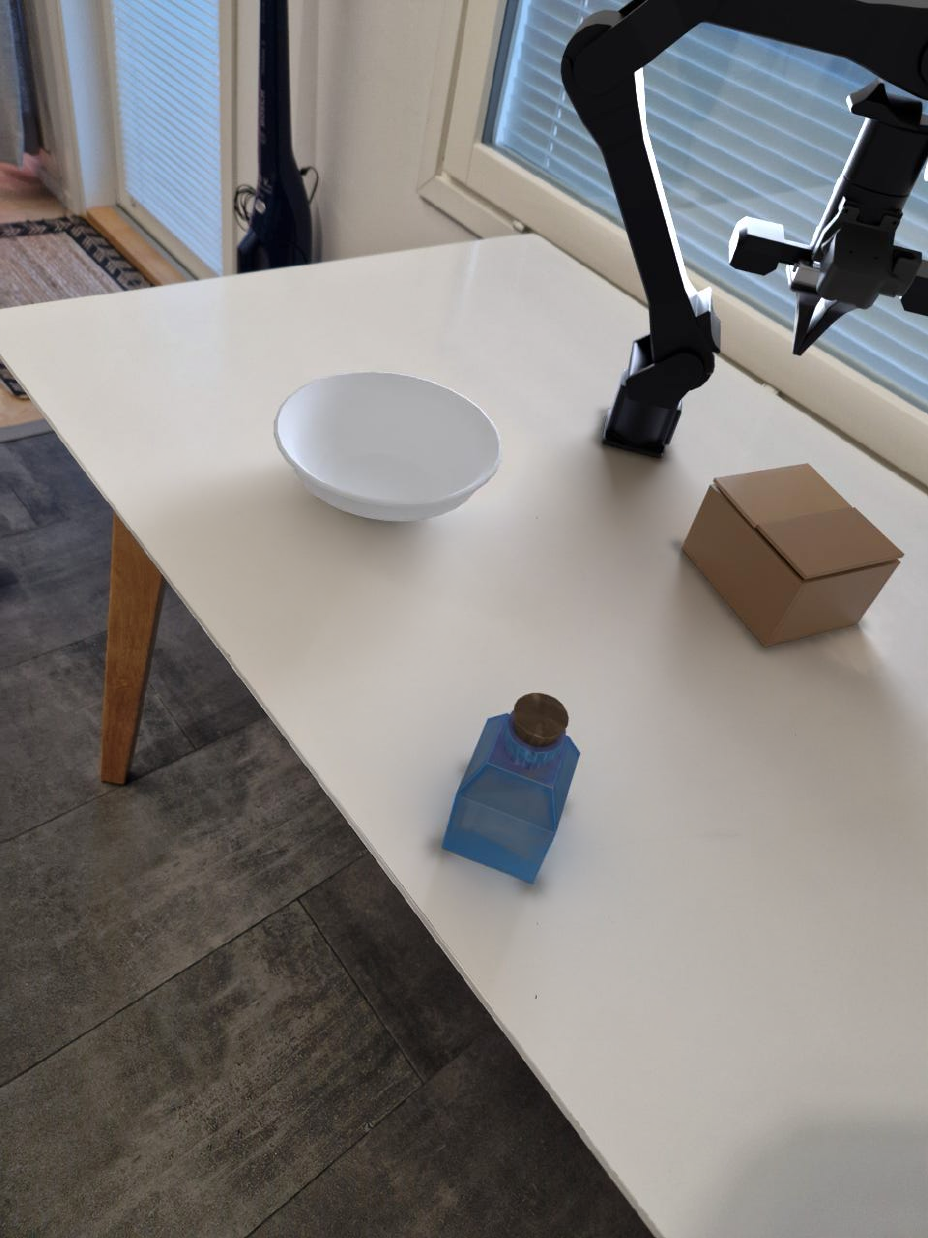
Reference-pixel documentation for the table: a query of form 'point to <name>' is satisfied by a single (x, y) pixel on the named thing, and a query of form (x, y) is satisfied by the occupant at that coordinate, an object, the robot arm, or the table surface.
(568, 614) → the table surface
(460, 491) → the bowl
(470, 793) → the perfume bottle
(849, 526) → the carton
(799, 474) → the flap
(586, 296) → the table surface
